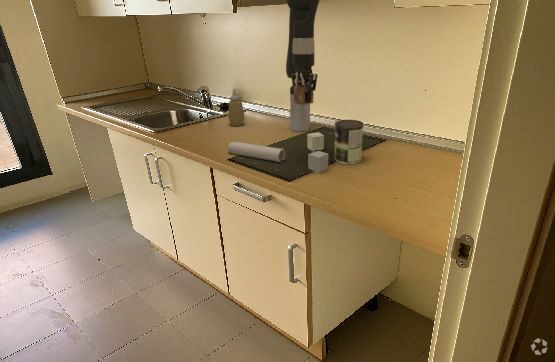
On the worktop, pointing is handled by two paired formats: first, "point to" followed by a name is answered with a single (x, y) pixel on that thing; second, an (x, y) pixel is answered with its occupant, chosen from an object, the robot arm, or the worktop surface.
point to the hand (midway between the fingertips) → (303, 100)
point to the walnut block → (301, 95)
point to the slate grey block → (318, 161)
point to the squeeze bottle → (236, 110)
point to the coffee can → (348, 141)
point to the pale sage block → (315, 141)
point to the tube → (257, 151)
